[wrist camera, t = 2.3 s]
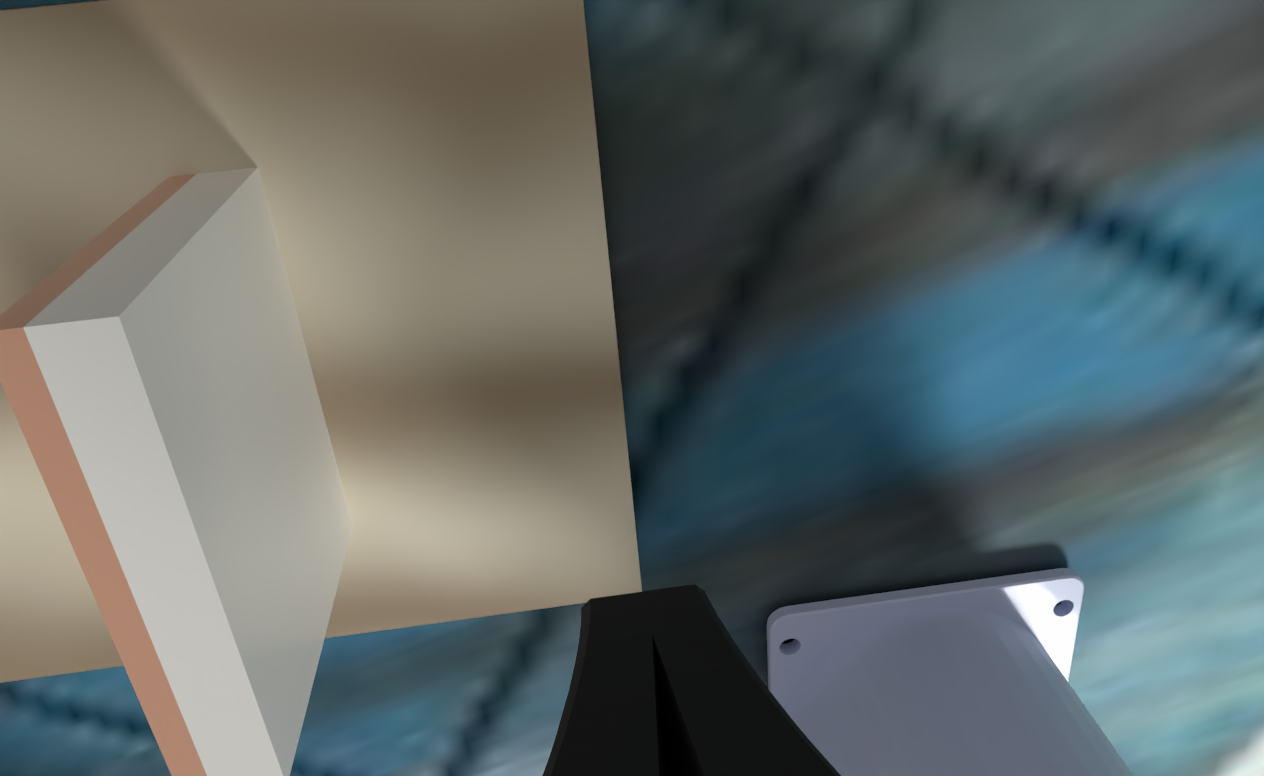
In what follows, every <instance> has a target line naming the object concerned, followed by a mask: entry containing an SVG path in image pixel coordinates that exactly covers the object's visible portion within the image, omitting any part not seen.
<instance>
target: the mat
mask: <svg viewBox="0 0 1264 776" xmlns="http://www.w3.org/2000/svg"><path fill="white" fill-rule="evenodd" d="M255 167H258V169H259V173H260V177H261V180H262V184H263V188H264V192H265V196H266V199H267V203H268V207H269V211H270V214H271V218H272V222H273V226H274V230H275V233H276V237H277V241H278V245H279V248H280V252H281V256H282V260H283V263H284V267H285V271H286V275H287V279H288V282H289V286H290V290H291V294H292V297H293V301H294V305H295V309H296V313H297V316H298V320H299V324H300V328H301V331H302V335H303V339H304V343H305V347H306V350H307V354H308V358H309V362H310V365H311V369H312V373H313V377H314V381H315V384H316V388H317V392H318V396H319V399H320V403H321V407H322V411H323V415H324V418H325V422H326V426H327V430H328V433H329V437H330V441H331V445H332V449H333V452H334V456H335V460H336V464H337V467H338V471H339V475H340V479H341V483H342V486H343V490H344V494H345V498H346V501H347V505H348V509H349V513H350V517H351V520H352V524H353V528H352V532H351V536H350V540H349V544H348V548H347V552H346V556H345V560H344V564H343V568H342V571H341V575H340V579H339V583H338V587H337V591H336V595H335V599H334V603H333V607H332V611H331V615H330V619H329V623H328V626H327V630H326V634H325V638H330V637H337V636H345V635H352V634H359V633H367V632H374V631H381V630H389V629H396V628H403V627H411V626H418V625H425V624H432V623H440V622H447V621H454V620H462V619H469V618H476V617H484V616H491V615H498V614H506V613H513V612H520V611H527V610H535V609H542V608H549V607H557V606H564V605H571V604H579V603H586V602H588V601H589V600H590V599H592V598H599V597H606V596H614V595H621V594H628V593H636V592H642V587H641V577H640V567H639V557H638V546H637V536H636V526H635V516H634V506H633V496H632V486H631V476H630V466H629V456H628V446H627V436H626V426H625V416H624V406H623V396H622V385H621V375H620V365H619V355H618V345H617V335H616V325H615V315H614V305H613V295H612V285H611V275H610V265H609V255H608V245H607V235H606V225H605V214H604V204H603V194H602V184H601V174H600V164H599V154H598V144H597V134H596V124H595V114H594V104H593V94H592V84H591V74H590V64H589V53H588V43H587V33H586V23H585V13H584V3H583V0H97V1H86V2H76V3H66V4H56V5H45V6H35V7H25V8H15V9H5V10H0V315H1V314H2V313H3V312H5V311H6V310H7V309H8V308H10V307H11V306H12V305H13V304H14V303H16V302H17V301H18V300H19V299H21V298H22V297H23V296H24V295H25V294H27V293H28V292H29V291H30V290H31V289H33V288H34V287H35V286H36V285H38V284H39V283H40V282H41V281H42V280H44V279H45V278H46V277H47V276H49V275H50V274H51V273H52V272H53V271H55V270H56V269H57V268H58V267H59V266H61V265H62V264H63V263H64V262H66V261H67V260H68V259H69V258H70V257H72V256H73V255H74V254H75V253H77V252H78V251H79V250H80V249H81V248H83V247H84V246H85V245H86V244H87V243H89V242H90V241H91V240H92V239H94V238H95V237H96V236H97V235H98V234H100V233H101V232H102V231H103V230H105V229H106V228H107V227H108V226H109V225H111V224H112V223H113V222H114V221H115V220H117V219H118V218H119V217H120V216H122V215H123V214H124V213H125V212H126V211H128V210H129V209H130V208H131V207H133V206H134V205H135V204H136V203H137V202H139V201H140V200H141V199H142V198H143V197H145V196H146V195H147V194H148V193H150V192H151V191H152V190H153V189H154V188H156V187H157V186H158V185H159V184H161V183H162V182H163V181H164V180H165V179H167V178H168V177H172V176H182V175H191V174H200V173H209V172H218V171H228V170H237V169H246V168H255ZM118 666H124V665H123V662H122V660H121V658H120V656H119V653H118V651H117V649H116V646H115V644H114V642H113V639H112V637H111V635H110V632H109V630H108V628H107V626H106V623H105V621H104V619H103V616H102V614H101V612H100V609H99V607H98V605H97V603H96V600H95V598H94V596H93V593H92V591H91V589H90V586H89V584H88V582H87V580H86V577H85V575H84V573H83V570H82V568H81V566H80V563H79V561H78V559H77V557H76V554H75V552H74V550H73V547H72V545H71V543H70V540H69V538H68V536H67V534H66V531H65V529H64V527H63V524H62V522H61V520H60V517H59V515H58V513H57V510H56V508H55V506H54V504H53V501H52V499H51V497H50V494H49V492H48V490H47V487H46V485H45V483H44V481H43V478H42V476H41V474H40V471H39V469H38V467H37V464H36V462H35V460H34V458H33V455H32V453H31V451H30V448H29V446H28V444H27V441H26V439H25V437H24V435H23V432H22V430H21V428H20V425H19V423H18V421H17V418H16V416H15V414H14V412H13V409H12V407H11V405H10V402H9V400H8V398H7V395H6V393H5V391H4V388H3V386H2V384H1V382H0V683H1V682H8V681H16V680H23V679H30V678H38V677H45V676H52V675H60V674H67V673H74V672H81V671H89V670H96V669H103V668H111V667H118Z"/></svg>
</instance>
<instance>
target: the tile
mask: <svg viewBox="0 0 1264 776" xmlns="http://www.w3.org/2000/svg"><path fill="white" fill-rule="evenodd" d="M0 382H1V384H2V386H3V388H4V391H5V393H6V395H7V398H8V400H9V402H10V405H11V407H12V409H13V412H14V414H15V416H16V418H17V421H18V423H19V425H20V428H21V430H22V432H23V435H24V437H25V439H26V441H27V444H28V446H29V448H30V451H31V453H32V455H33V458H34V460H35V462H36V464H37V467H38V469H39V471H40V474H41V476H42V478H43V481H44V483H45V485H46V487H47V490H48V492H49V494H50V497H51V499H52V501H53V504H54V506H55V508H56V510H57V513H58V515H59V517H60V520H61V522H62V524H63V527H64V529H65V531H66V534H67V536H68V538H69V540H70V543H71V545H72V547H73V550H74V552H75V554H76V557H77V559H78V561H79V563H80V566H81V568H82V570H83V573H84V575H85V577H86V580H87V582H88V584H89V586H90V589H91V591H92V593H93V596H94V598H95V600H96V603H97V605H98V607H99V609H100V612H101V614H102V616H103V619H104V621H105V623H106V626H107V628H108V630H109V632H110V635H111V637H112V639H113V642H114V644H115V646H116V649H117V651H118V653H119V656H120V658H121V660H122V662H123V665H124V667H125V669H126V672H127V674H128V676H129V679H130V681H131V683H132V685H133V688H134V690H135V692H136V695H137V697H138V699H139V702H140V704H141V706H142V708H143V711H144V713H145V715H146V718H147V720H148V722H149V725H150V727H151V729H152V731H153V734H154V736H155V738H156V741H157V743H158V745H159V748H160V750H161V752H162V754H163V757H164V759H165V761H166V764H167V766H168V768H169V771H170V773H171V775H172V776H290V772H291V768H292V764H293V760H294V756H295V752H296V748H297V744H298V740H299V736H300V733H301V729H302V725H303V721H304V717H305V713H306V709H307V705H308V701H309V697H310V693H311V689H312V685H313V681H314V678H315V674H316V670H317V666H318V662H319V658H320V654H321V650H322V646H323V642H324V638H325V634H326V630H327V626H328V623H329V619H330V615H331V611H332V607H333V603H334V599H335V595H336V591H337V587H338V583H339V579H340V575H341V571H342V568H343V564H344V560H345V556H346V552H347V548H348V544H349V540H350V536H351V532H352V528H353V524H352V520H351V517H350V513H349V509H348V505H347V501H346V498H345V494H344V490H343V486H342V483H341V479H340V475H339V471H338V467H337V464H336V460H335V456H334V452H333V449H332V445H331V441H330V437H329V433H328V430H327V426H326V422H325V418H324V415H323V411H322V407H321V403H320V399H319V396H318V392H317V388H316V384H315V381H314V377H313V373H312V369H311V365H310V362H309V358H308V354H307V350H306V347H305V343H304V339H303V335H302V331H301V328H300V324H299V320H298V316H297V313H296V309H295V305H294V301H293V297H292V294H291V290H290V286H289V282H288V279H287V275H286V271H285V267H284V263H283V260H282V256H281V252H280V248H279V245H278V241H277V237H276V233H275V230H274V226H273V222H272V218H271V214H270V211H269V207H268V203H267V199H266V196H265V192H264V188H263V184H262V180H261V177H260V173H259V169H258V167H255V168H246V169H237V170H228V171H218V172H209V173H200V174H191V175H182V176H172V177H168V178H167V179H165V180H164V181H163V182H162V183H161V184H159V185H158V186H157V187H156V188H154V189H153V190H152V191H151V192H150V193H148V194H147V195H146V196H145V197H143V198H142V199H141V200H140V201H139V202H137V203H136V204H135V205H134V206H133V207H131V208H130V209H129V210H128V211H126V212H125V213H124V214H123V215H122V216H120V217H119V218H118V219H117V220H115V221H114V222H113V223H112V224H111V225H109V226H108V227H107V228H106V229H105V230H103V231H102V232H101V233H100V234H98V235H97V236H96V237H95V238H94V239H92V240H91V241H90V242H89V243H87V244H86V245H85V246H84V247H83V248H81V249H80V250H79V251H78V252H77V253H75V254H74V255H73V256H72V257H70V258H69V259H68V260H67V261H66V262H64V263H63V264H62V265H61V266H59V267H58V268H57V269H56V270H55V271H53V272H52V273H51V274H50V275H49V276H47V277H46V278H45V279H44V280H42V281H41V282H40V283H39V284H38V285H36V286H35V287H34V288H33V289H31V290H30V291H29V292H28V293H27V294H25V295H24V296H23V297H22V298H21V299H19V300H18V301H17V302H16V303H14V304H13V305H12V306H11V307H10V308H8V309H7V310H6V311H5V312H3V313H2V314H1V315H0Z"/></svg>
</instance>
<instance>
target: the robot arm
mask: <svg viewBox="0 0 1264 776" xmlns="http://www.w3.org/2000/svg"><path fill="white" fill-rule="evenodd" d="M1083 593H1084V582H1083V581H1082V580H1081V578H1080V577H1079V576H1078V575H1077V574H1076V572H1075V571H1074V570H1071V569H1069V568H1058V569H1050V570H1043V571H1036V572H1029V573H1022V574H1014V575H1007V576H1000V577H993V578H985V579H978V580H971V581H964V582H957V583H949V584H942V585H935V586H928V587H921V588H913V589H906V590H899V591H892V592H884V593H877V594H870V595H863V596H856V597H848V598H841V599H834V600H827V601H820V602H812V603H805V604H798V605H791V606H785V607H782V608H778V609H777V610H776V611H774V612H773V613H772V614H771V615H770V616H769V618H768V621H767V659H768V688H767V687H766V685H765V684H764V683H763V682H762V680H761V679H760V677H759V676H758V675H757V673H756V672H755V671H754V669H753V668H752V667H751V665H750V664H749V662H748V661H747V660H746V658H745V657H744V655H743V654H742V652H741V651H740V649H739V648H738V646H737V645H736V644H735V642H734V641H733V639H732V638H731V636H730V634H729V633H728V631H727V630H726V628H725V627H724V625H723V623H722V622H721V620H720V619H719V617H718V615H717V613H716V612H715V610H714V608H713V606H712V605H711V603H710V601H709V599H708V597H707V595H706V593H705V591H703V590H702V589H701V588H699V587H698V586H696V585H695V584H694V585H687V586H680V587H672V588H665V589H658V590H650V591H643V592H636V593H628V594H621V595H614V596H606V597H599V598H592V599H590V600H589V601H588V602H587V603H586V604H585V605H584V606H583V607H582V608H581V630H580V639H579V646H578V652H577V657H576V662H575V667H574V671H573V676H572V680H571V685H570V689H569V693H568V696H567V700H566V703H565V707H564V710H563V714H562V717H561V721H560V724H559V728H558V731H557V735H556V738H555V742H554V745H553V748H552V751H551V754H550V757H549V760H548V762H547V765H546V768H545V771H544V774H543V776H1133V774H1132V773H1131V771H1130V770H1129V768H1128V767H1127V766H1126V764H1125V763H1124V761H1123V760H1122V758H1121V757H1120V756H1119V754H1118V753H1117V751H1116V750H1115V748H1114V747H1113V746H1112V744H1111V743H1110V741H1109V740H1108V739H1107V737H1106V736H1105V734H1104V733H1103V731H1102V730H1101V729H1100V727H1099V726H1098V724H1097V723H1096V721H1095V720H1094V719H1093V717H1092V716H1091V714H1090V713H1089V711H1088V710H1087V709H1086V707H1085V706H1084V704H1083V703H1082V701H1081V700H1080V699H1079V697H1078V696H1077V694H1076V693H1075V691H1074V690H1073V689H1072V687H1071V686H1070V684H1069V683H1068V681H1069V675H1070V670H1071V664H1072V658H1073V652H1074V646H1075V640H1076V634H1077V628H1078V622H1079V616H1080V611H1081V605H1082V599H1083ZM1063 600H1064V601H1063ZM1060 601H1063V602H1062V603H1061V604H1059V605H1056V604H1057V603H1058V602H1060ZM1055 605H1056V606H1055ZM787 639H794V640H793V641H792V642H791V643H788V644H781V643H782V642H784V641H785V640H787Z"/></svg>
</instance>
